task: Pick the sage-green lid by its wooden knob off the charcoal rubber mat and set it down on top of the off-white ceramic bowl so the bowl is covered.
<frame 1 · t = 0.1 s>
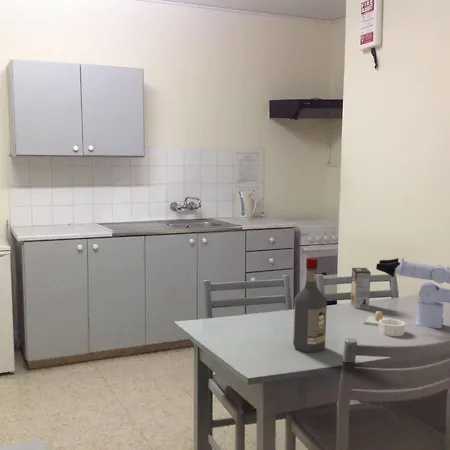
hand: (377, 264, 223), 22 cm above the table, tool horizontal, fingers open, 7 cm apart
lid: (378, 322, 219), resting on mat
liquor: (308, 348, 189), on the table
mat: (378, 323, 219), on the table
coffee box: (359, 306, 243), on the table
bowl: (391, 333, 206), on the table
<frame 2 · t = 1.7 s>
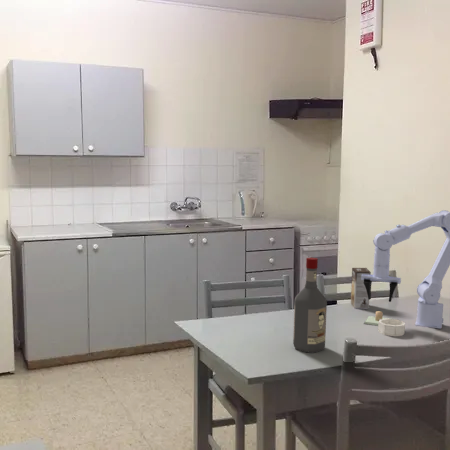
hand: (379, 300, 218), 9 cm above the table, tool pointing down, fingers open, 7 cm apart
nothing on the table moved.
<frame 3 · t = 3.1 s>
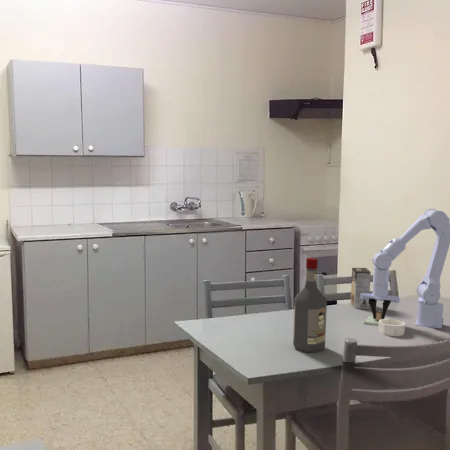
hand: (378, 318, 219), 2 cm above the table, tool pointing down, fingers closed on lid, 3 cm apart
lid: (378, 322, 219), resting on mat, touching gripper
everything else where it was.
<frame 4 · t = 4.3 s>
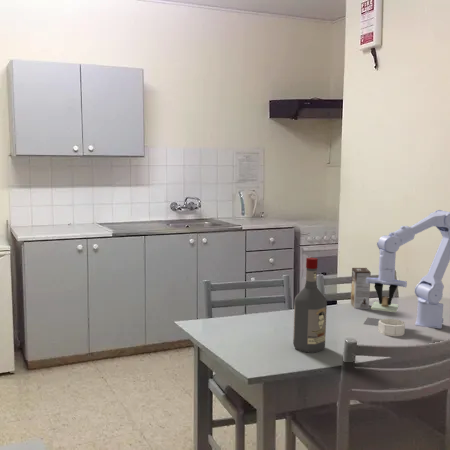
hand: (385, 304, 212), 9 cm above the table, tool pointing down, fingers closed on lid, 3 cm apart
lid: (384, 307, 213), point 7 cm above the table, touching gripper
everything else where it was.
when the fingers open (7 cm above the table, at t = 5.3 s): lid drops 1 cm, resting on bowl.
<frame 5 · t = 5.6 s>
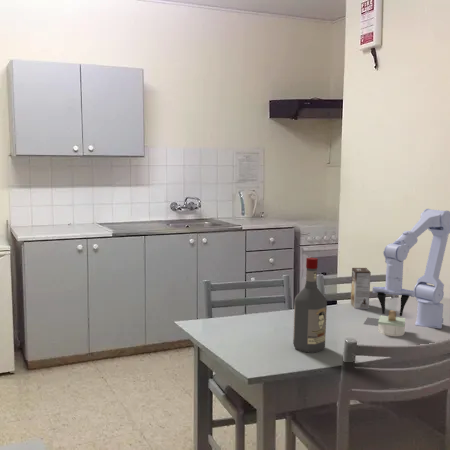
hand: (392, 314, 206), 7 cm above the table, tool pointing down, fingers open, 5 cm apart
lid: (391, 322, 206), point 4 cm above the table, touching bowl
everything else where it was.
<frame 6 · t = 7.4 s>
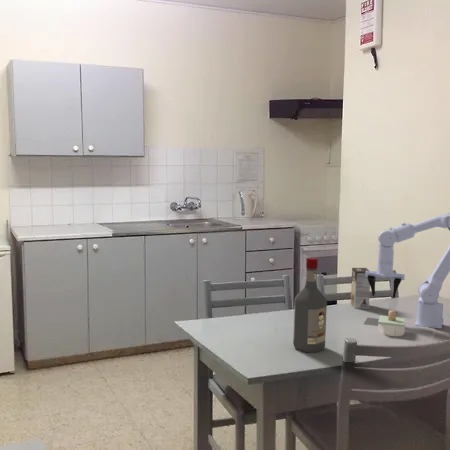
hand: (383, 296, 220), 10 cm above the table, tool pointing down, fingers open, 7 cm apart
nothing on the table moved.
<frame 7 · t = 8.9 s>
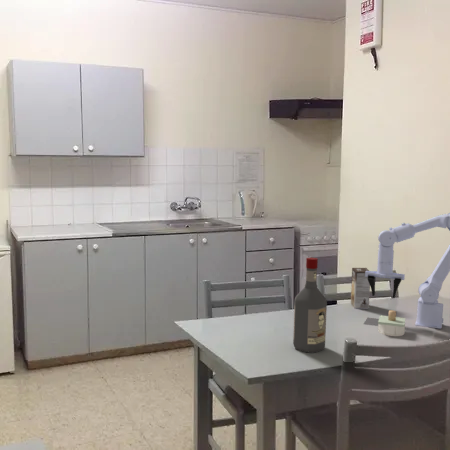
hand: (383, 296, 220), 10 cm above the table, tool pointing down, fingers open, 7 cm apart
nothing on the table moved.
at the end: lid 0.2 cm off-centre on the bowl, point 4.0 cm above the bowl's base; the gripper is holding nothing; lid tilted 0° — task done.
